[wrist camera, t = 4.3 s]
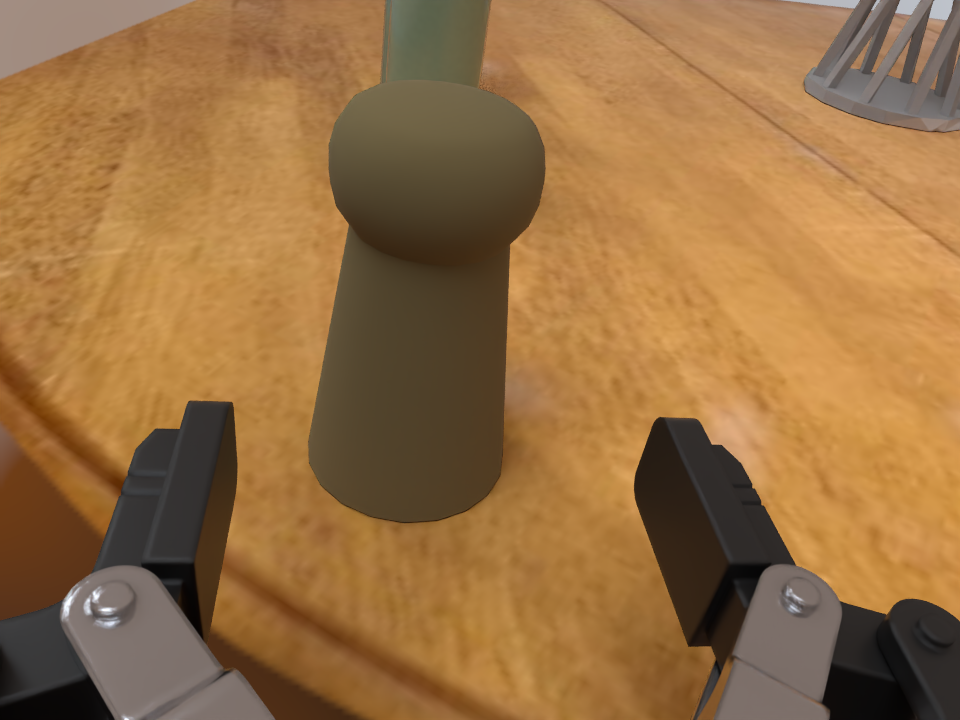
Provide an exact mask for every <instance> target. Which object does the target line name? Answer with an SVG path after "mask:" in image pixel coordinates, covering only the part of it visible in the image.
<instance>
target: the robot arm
mask: <svg viewBox="0 0 960 720" xmlns="http://www.w3.org/2000/svg"><path fill="white" fill-rule="evenodd" d="M236 485H237V451H236V436H235V420H234V407H233V403H232V402H218V401H189V402H188V404H187V406H186V409H185V413H184V416H183V420H182V423H181V426H180V429H155V430H154V431H153V432H152V433H151V434H150V435H149V436H148V437H147V438H146V439H145V440H144V441H143V442H142V443H141V444H140V445H139V446H138V447H137V448H136V450H135V453H134V456H133V459H132V461H131V464H130V467H129V470H128V476H127V477H126V479H125V481H124V484H123V487H122V490H121V496H119V499H118V501H117V504H116V507H115V510H114V513H113V516H112V519H111V521H110V524H109V527H108V530H107V533H106V536H105V539H104V541H103V544H102V547H101V550H100V553H99V556H98V559H97V561H96V564H95V567H94V569H93V571H92V573H91V574H90V575H89V576H87V577H85V578H84V579H83V580H81V581H80V582H79V583H77V584H76V585H75V586H74V587H73V588H72V589H71V591H70V592H69V593H68V595H67V596H66V598H65V599H63V600H61V601H60V602H58V603H56V604H54V605H51V606H49V607H47V608H44V609H41V610H38V611H35V612H31V613H27V614H24V615H20V616H16V617H12V618H9V619H5V620H1V621H0V720H275V718H274V717H273V716H272V714H271V713H270V711H269V710H268V709H267V707H266V706H265V705H264V703H263V702H262V700H261V699H260V698H259V696H258V695H257V694H256V693H255V691H254V689H253V688H252V687H251V685H250V684H249V683H248V682H247V680H246V679H245V677H244V676H243V675H242V674H241V673H240V672H239V671H238V670H236V669H235V668H233V667H230V668H228V669H225V668H223V667H222V666H221V665H220V663H219V662H218V661H217V659H216V658H215V657H214V655H213V654H212V652H211V651H210V650H209V648H208V647H207V642H208V638H209V632H210V627H211V622H212V617H213V611H214V606H215V601H216V595H217V590H218V585H219V580H220V574H221V569H222V564H223V558H224V553H225V548H226V543H227V537H228V532H229V527H230V521H231V516H232V511H233V506H234V500H235V494H236ZM634 493H635V500H636V504H637V507H638V509H639V512H640V515H641V518H642V520H643V523H644V526H645V529H646V531H647V534H648V537H649V540H650V542H651V545H652V548H653V551H654V553H655V556H656V559H657V562H658V564H659V567H660V570H661V572H662V575H663V578H664V581H665V583H666V586H667V589H668V592H669V594H670V597H671V600H672V603H673V605H674V608H675V611H676V614H677V616H678V619H679V622H680V625H681V627H682V630H683V633H684V636H685V638H686V641H687V644H688V647H699V646H711V647H712V650H713V652H714V655H715V657H716V658H715V660H714V662H713V664H712V666H711V667H710V670H709V672H708V675H707V678H706V680H705V683H704V685H703V688H702V691H701V693H700V696H699V698H698V701H697V703H696V706H695V709H694V711H693V714H692V716H691V719H690V720H960V621H959V620H958V619H956V618H955V617H954V616H953V615H951V614H950V613H949V612H947V611H946V610H944V609H942V608H941V607H939V606H937V605H934V604H932V603H929V602H927V601H923V600H918V599H905V600H901V601H899V602H897V603H896V604H895V605H894V606H893V607H892V609H891V610H890V611H889V613H888V614H887V615H886V614H882V613H879V612H875V611H872V610H868V609H864V608H861V607H857V606H853V605H850V604H847V603H844V602H841V601H839V599H838V597H837V595H836V594H835V593H834V591H833V590H832V589H831V587H830V586H829V585H828V584H827V583H826V582H825V581H823V580H822V579H821V578H820V577H818V576H817V575H815V574H814V573H812V572H810V571H808V570H806V569H804V568H801V567H798V566H796V564H795V563H794V561H793V559H792V557H791V555H790V553H789V551H788V550H787V548H786V546H785V544H784V542H783V540H782V538H781V537H780V535H779V533H778V531H777V529H776V527H775V525H774V524H773V522H772V520H771V518H770V516H769V514H768V512H767V511H766V509H765V507H764V506H762V505H761V499H760V498H759V496H758V494H757V492H756V490H755V489H753V488H752V483H751V481H750V479H749V477H748V475H747V473H746V472H745V470H744V468H743V466H742V464H741V463H740V462H739V461H738V460H737V459H736V458H735V457H734V456H733V455H732V454H731V453H729V452H728V451H727V450H726V449H725V448H724V447H723V446H722V445H712V444H711V442H710V440H709V438H708V436H707V435H706V433H705V431H704V429H703V427H702V425H701V423H700V422H699V421H698V420H697V419H695V418H668V417H659V418H657V419H656V420H655V422H654V424H653V426H652V429H651V432H650V434H649V437H648V440H647V443H646V445H645V448H644V451H643V454H642V457H641V459H640V462H639V465H638V468H637V471H636V474H635V481H634Z"/></svg>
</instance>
